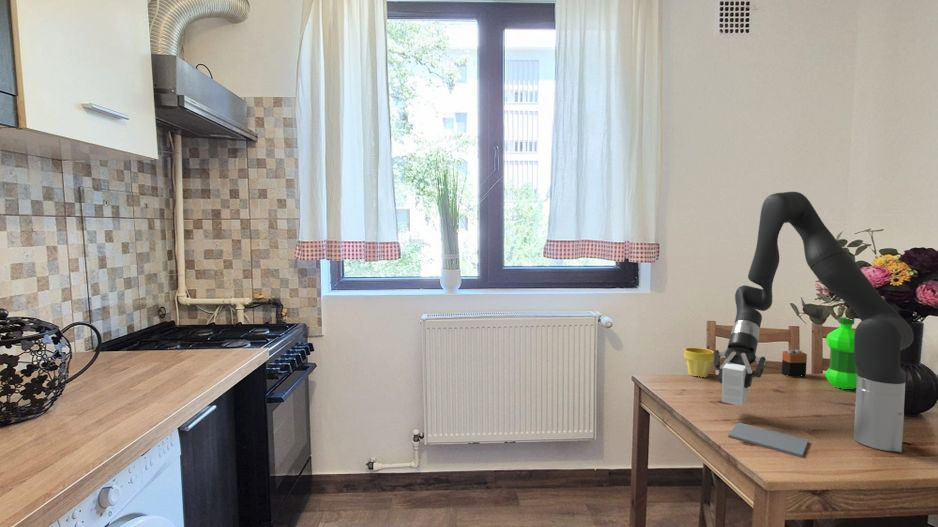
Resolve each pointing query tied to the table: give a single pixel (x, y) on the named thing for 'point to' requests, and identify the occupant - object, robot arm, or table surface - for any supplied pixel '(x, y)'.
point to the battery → (794, 363)
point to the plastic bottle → (842, 356)
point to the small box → (734, 384)
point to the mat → (769, 439)
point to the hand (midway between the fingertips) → (733, 384)
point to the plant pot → (698, 361)
